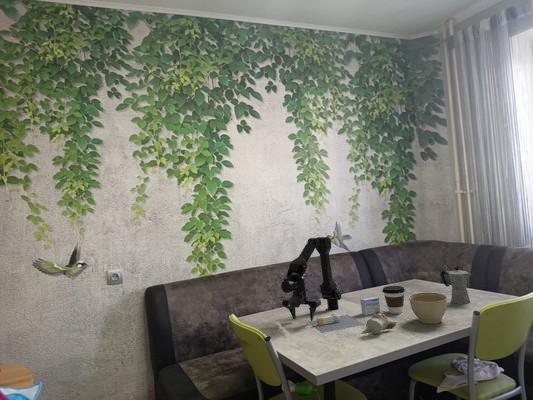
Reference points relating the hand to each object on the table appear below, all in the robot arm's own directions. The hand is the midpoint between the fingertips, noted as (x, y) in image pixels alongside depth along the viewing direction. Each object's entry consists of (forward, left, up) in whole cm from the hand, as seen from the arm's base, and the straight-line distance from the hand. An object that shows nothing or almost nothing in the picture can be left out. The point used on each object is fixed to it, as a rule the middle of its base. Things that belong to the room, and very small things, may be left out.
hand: (303, 320), depth 191 cm
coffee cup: (+5, +47, -3) cm, 47 cm away
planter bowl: (+25, +52, -3) cm, 58 cm away
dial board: (+9, +13, -3) cm, 16 cm away
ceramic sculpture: (+25, +27, -3) cm, 36 cm away
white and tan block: (+7, +10, -1) cm, 13 cm away
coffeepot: (+7, +82, -3) cm, 82 cm away
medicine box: (+4, +34, -3) cm, 34 cm away
